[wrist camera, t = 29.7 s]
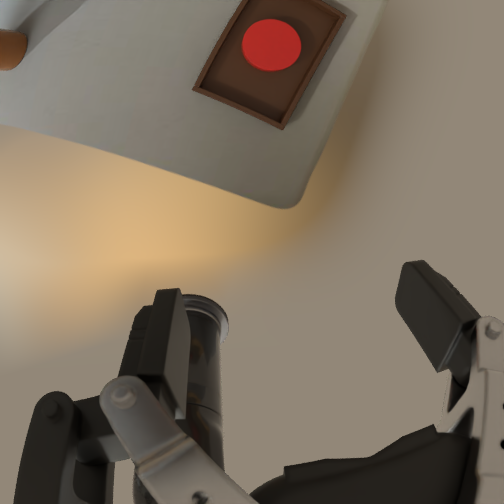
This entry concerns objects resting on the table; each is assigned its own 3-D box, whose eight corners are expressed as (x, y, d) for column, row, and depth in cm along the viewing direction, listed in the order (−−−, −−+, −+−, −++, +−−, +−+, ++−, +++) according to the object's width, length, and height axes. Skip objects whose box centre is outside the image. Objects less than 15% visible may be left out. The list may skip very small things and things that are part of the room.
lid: (257, 14, 26) (259, 9, 24) (306, 38, 28) (311, 35, 26) (231, 57, 28) (232, 55, 27) (282, 81, 30) (285, 80, 29)
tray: (279, 128, 34) (282, 130, 32) (193, 90, 30) (191, 90, 28) (340, 19, 27) (347, 15, 25) (259, -22, 23) (261, -29, 22)
